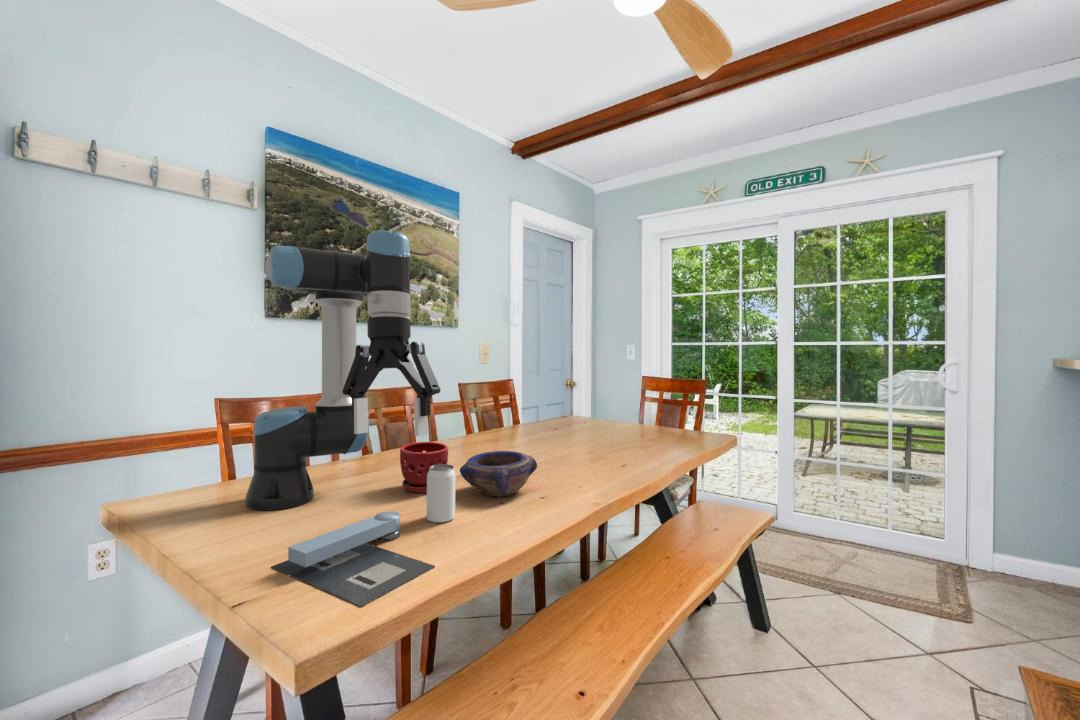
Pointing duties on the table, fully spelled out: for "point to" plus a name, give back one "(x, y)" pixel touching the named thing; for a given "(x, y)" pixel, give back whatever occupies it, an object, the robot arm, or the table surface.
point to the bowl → (498, 472)
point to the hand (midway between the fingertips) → (390, 434)
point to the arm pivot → (389, 536)
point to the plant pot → (420, 463)
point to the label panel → (358, 573)
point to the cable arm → (343, 539)
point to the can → (441, 493)
